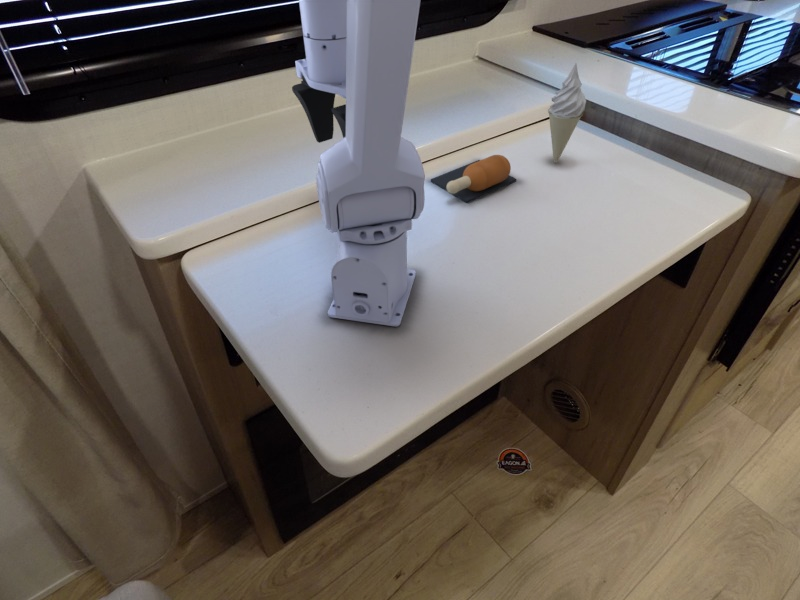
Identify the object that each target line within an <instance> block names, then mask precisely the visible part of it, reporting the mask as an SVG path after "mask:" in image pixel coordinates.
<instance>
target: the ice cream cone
mask: <svg viewBox="0 0 800 600" xmlns="http://www.w3.org/2000/svg"><path fill="white" fill-rule="evenodd" d="M561 84H562V87H561V88H560V89H559V90H557V91H555V94H556V95H555V96H553V97H551V102H552V104H550V106H549V108H548V109H547V113H548V117H549V119H548V120H549V128H550V137H551V147H552V158H553V163H554V164H557V163H558V162H559V160H560V158H561V156H562V155H563V152H564V150H565V149H566V146H567V145H568V143H569V141H570V139H571V136H572V135H573V133H574V131H575V129H576V127H577V125H578V123H579V121H580V119H581V117H583V115H584V112H585V107H586V104H587V99H586V96H585V94H584V93H583V91H582V88H581V87H582V85H583V83H582V81H581V79H580V76H579V72H578V64H577V63H574V66H573V67H572V69H571V70H570V72H569V73H568V75H567V77H566V78H565V80H564V81H563V82H562V83H561Z"/></svg>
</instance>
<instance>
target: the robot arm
mask: <svg viewBox="0 0 800 600" xmlns="http://www.w3.org/2000/svg"><path fill="white" fill-rule="evenodd" d="M298 4H299V12H300V21H301V29H302V36H303V37H302V38H303V45H304V53H305V58H303V59H298V60H295V61H294V63H295V71H296V77H297V78H299V79H301V81H300V83H296V84H294V85H293V86H292V87H291V91H292V93H293V94H294V95H295V97H296V98H297V100H298V101H299V103H300V105H301V107H302V108H303V110H304V112H305V115H306V117H307V120H308V122H309V125H310V128H311V131H312V133H313V135H314V138H315V140H316V142H317V143H319V144H321V143H323V142H326V141H329V140H332V139H333V138H334V131H335V130H334V118H335V119H336V121H337V124H338V126H339V128H340V131H341V135H342V139H340V140H339V141H338V142H336V143H335V144H333V145H332V146H331V147H329V148H328V149H326V150H325V151H323V152H322V153H321V154H320V155H319V161H318V163H317V173H316V175H315V182H316V183H315V184H316V193H317V198H318V203H319V209H320V213H321V218H322V221H323V222H322V223H323V224H324V227H325V228H326V229H327V230H328V231H329V232H330V233H332V234H333V233H337V244H338V249H337V254H336V257H335V260H334V263H333V265H332V267H331V272H330V280H331V286H332V294H333V295H332V296H333V300H332V302H331V304H330V306H329V307H328V310H327V316H328V317H329V318H334V319H341V320H347V321H353V322H354V321H355V322H362V323H367V324H368V323H369V324H375V325H383V326H389V327H399V326H400V325H401V323H402V320H403V316H404V313H405V311H406V307H407V304H408V301H409V298H410V295H411V293H412V292H411V291H412V288H413V286H414V282H415V279H416V276H417V271H416V270H415V269H411V268H408V237H407V236H408V232H407V231H411V230H412V228H413V227H412V226H413V225H412V224H413V223H412V221H413V220H417V219H419V218H420V216H421V214H422V213H423V211H424V207H425V179H426V174H425V170H424V164H423V162H422V159H421V156H420V155H419V151H418V150H417V149H416V146H415V145H414V143H413V142H412V141H409V140H408V139H407V138H404V137H402V132H403V124H404V117H405V110H406V103H407V97H408V90H409V85H410V84H409V83H410V77H411V68H412V63H413V54H414V49H415V48H414V47H415V41H416V34H417V27H418V20H419V14H420V7H421V0H298ZM336 95H338V96H339V97H341V98H343V99H345V104H342V105H339V106H335V100H336Z"/></svg>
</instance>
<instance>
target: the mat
mask: <svg viewBox="0 0 800 600" xmlns="http://www.w3.org/2000/svg"><path fill="white" fill-rule="evenodd" d="M480 160H481V159H478V160H475V161H473V162H470V163H467V164H465V165H463V166H461V167H458V168H455V169H453V170H450V171H448V172H445V173H443V174H441V175H438V176H434V177H433V178H431V179H430V182H431V183H432V184H434V185H436V186H437V187H439V188H440V189H442V190H443V191H444V190H445V191H446V192H447V193H449V192H448V191H447V188H446V186H447V184H448V182H450V181H454V180H456V179H459V178H461V177H463V172H464V170H465V169H466V168H467V167H468V166H469V165H471V164H473V163H475V162H478V161H480ZM515 182H517V178H516V177H513V176H511V175H510V174H509V176H508V177H507V178H506V179H505V180H504V181H502V182H500V183H498V184H496V185H493V186H491V187H489V188H486V189H484V190H482V191H478V192H474V191H471V190H469V189H468V188H465V189H463V190H460V191H458V192H457V193H455V194H452V195H453V196H454V197H456V198H458V199H459V200H461V201H463V202H464V203H466V204H468V203H470V202H473V201H475V200H477V199H479V198H481V197H484V196H486V195H489V194H490V193H493V192H495V191H498V190H500V189H502V188H505V187H507V186H509V185H511V184H513V183H515Z"/></svg>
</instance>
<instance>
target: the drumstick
mask: <svg viewBox="0 0 800 600" xmlns="http://www.w3.org/2000/svg"><path fill="white" fill-rule="evenodd" d="M479 160H480V161H478V160H477V161H478V162H475V161H474V162H475V163H473V162H472V163H473V164H471V165H469V166H468V167H467V168H466V169H465V170H464V172H463V177H461V178H459V179H456V180H454V181H450V182H448V184H447V186H446V188H447V191H448V192H447V191H446V192H447V193H449V194H451V195H453V194H455V193H457V192H458V191H460V190H463V189H465V188H468V189H469V190H471V191H474V192H478V191H482V190H484V189H486V188H489V187H491V186H493V185H496V184H498V183H500V182H502V181H504V180H505V179H506V178H507V177H508V176H509V175H510V173H511V170H512V168H511V162H510V161H509V160H508V158H507V157H506V156H504V155H501V154H493V155H490V156H488V157H485V158H483V159H479Z"/></svg>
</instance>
